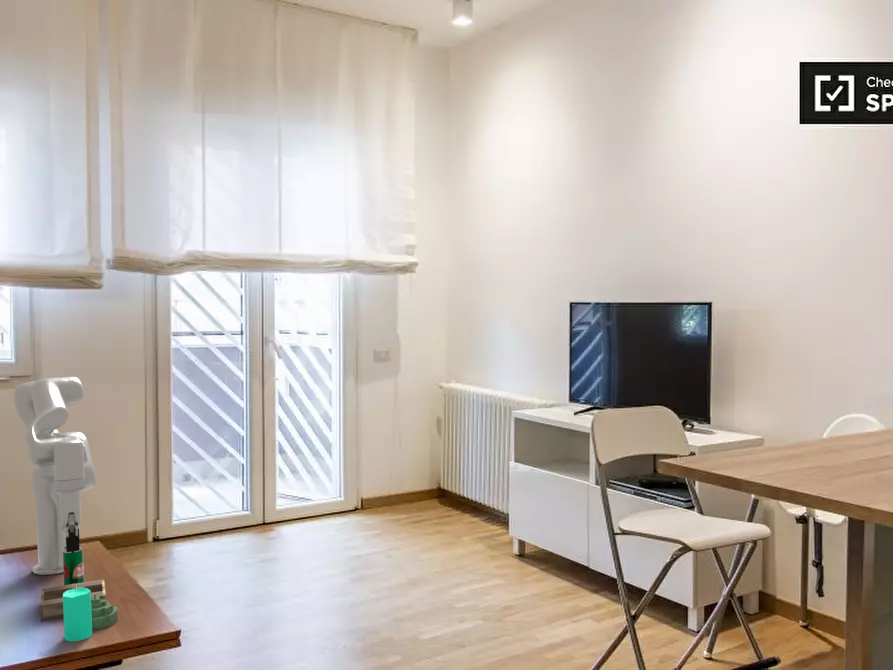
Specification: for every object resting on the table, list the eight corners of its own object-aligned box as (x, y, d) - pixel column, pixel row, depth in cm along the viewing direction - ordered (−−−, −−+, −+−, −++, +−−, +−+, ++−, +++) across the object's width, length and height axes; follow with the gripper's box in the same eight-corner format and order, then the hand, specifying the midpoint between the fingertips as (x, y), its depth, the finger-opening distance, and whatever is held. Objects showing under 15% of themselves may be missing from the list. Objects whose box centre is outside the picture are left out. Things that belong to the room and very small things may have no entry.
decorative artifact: (69, 621, 200) (78, 634, 192) (68, 593, 200) (77, 604, 192) (112, 612, 206) (122, 623, 198) (111, 584, 205) (121, 595, 197)
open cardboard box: (42, 603, 213) (42, 588, 213) (104, 594, 219) (104, 579, 219) (40, 621, 200) (40, 605, 200) (106, 610, 206) (105, 595, 206)
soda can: (76, 593, 220) (74, 549, 220) (60, 592, 221) (58, 549, 221) (88, 587, 225) (86, 544, 225) (72, 586, 226) (70, 543, 226)
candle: (70, 632, 193) (67, 582, 192) (96, 630, 193) (94, 580, 193) (60, 642, 187) (58, 590, 186) (87, 640, 187) (84, 589, 187)
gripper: (55, 482, 229) (58, 542, 229) (54, 491, 213) (57, 556, 213) (84, 478, 232) (87, 538, 232) (85, 488, 216) (88, 552, 216)
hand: (73, 547), depth 222 cm, fingers open, 9 cm apart
